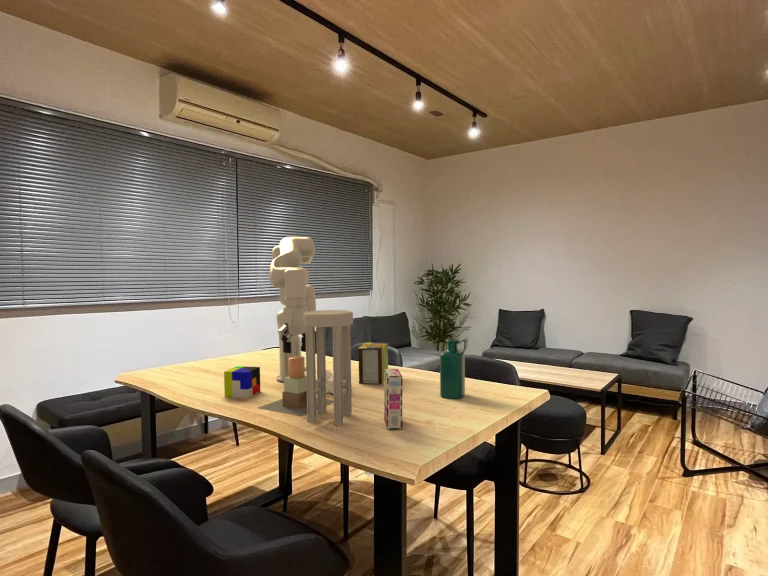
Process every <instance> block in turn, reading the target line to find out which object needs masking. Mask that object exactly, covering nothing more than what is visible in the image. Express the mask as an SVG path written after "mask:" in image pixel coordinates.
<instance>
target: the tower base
mask: <svg viewBox="0 0 768 576" xmlns="http://www.w3.org/2000/svg"><path fill="white" fill-rule="evenodd" d="M281 394H282V397H281V399H283V406H287V407H292V408H298V409H299V408H302V407H304V406H307V391H305V392H303V393H300V394H295V393H289V392H284V390H283V391H282V392H281Z"/></svg>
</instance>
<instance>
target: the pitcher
mask: <svg viewBox="0 0 768 576" xmlns="http://www.w3.org/2000/svg"><path fill="white" fill-rule="evenodd" d="M444 341H445V342H446V343H447V349H445V350H444V351H442V352H441V353H440V355H439V388H440V389H439V390H440V391H439V393H440V397H441V398H444V399H454V400H460V399H462V398H463V397H465V394H466V383H465V382H466V376H465V375H466V371H465V370H466V368H465V367H466V365H465V364H466V358H465V357H466V356H465V355H466V354H465V352H466V351H467V349H468V344H469V343H468V342H469V339H468V338H467V337H466V338H463V339H462V340H460V339H458V338H446V339H445V340H444ZM462 342H464V343H463V350H459V349H458V344H461V343H462Z"/></svg>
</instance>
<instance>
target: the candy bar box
mask: <svg viewBox="0 0 768 576" xmlns="http://www.w3.org/2000/svg"><path fill="white" fill-rule="evenodd" d="M383 385H384V388H383V389H384V390H383V391H384V392H383V400H384V403H383V406H384V408H383V410H384V411H383V414H384V419H383V420H384V422H385V426H386V429H387V430H402V429H403V375H402V374H401V371H400V370H399V369H398V368H388V369H384V382H383Z"/></svg>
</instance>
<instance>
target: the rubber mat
mask: <svg viewBox="0 0 768 576" xmlns="http://www.w3.org/2000/svg"><path fill="white" fill-rule="evenodd" d="M331 404H334V399H333V400H331V399H327V398H326V407H327V406H329V405H331ZM257 409H259V410H260V409H261V410H265V411H271V412H275V413H281V414H285V415H292V416H296V417H303V416H305V415H306V416H307V406H304V407H302V408H299V409H298V408H292V407H287V406H283V398H281V399H278V400H276V401H273V402H270V403H266V404H264V405H262V406H259V407H257ZM316 411H318V402H317V397H316Z"/></svg>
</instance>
